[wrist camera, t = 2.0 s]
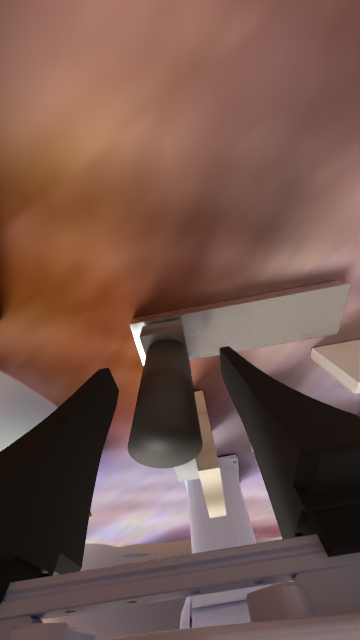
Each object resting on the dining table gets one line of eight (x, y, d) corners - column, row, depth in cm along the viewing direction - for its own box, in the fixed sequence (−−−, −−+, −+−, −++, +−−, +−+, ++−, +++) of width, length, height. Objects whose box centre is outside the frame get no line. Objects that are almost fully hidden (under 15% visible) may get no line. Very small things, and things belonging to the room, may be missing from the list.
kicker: (209, 436, 21) (234, 555, 13) (180, 441, 21) (186, 562, 13) (189, 311, 14) (216, 404, 6) (144, 319, 14) (112, 422, 6)
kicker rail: (326, 327, 16) (338, 333, 15) (146, 359, 16) (144, 368, 15) (336, 280, 14) (350, 283, 13) (132, 318, 14) (129, 324, 13)
